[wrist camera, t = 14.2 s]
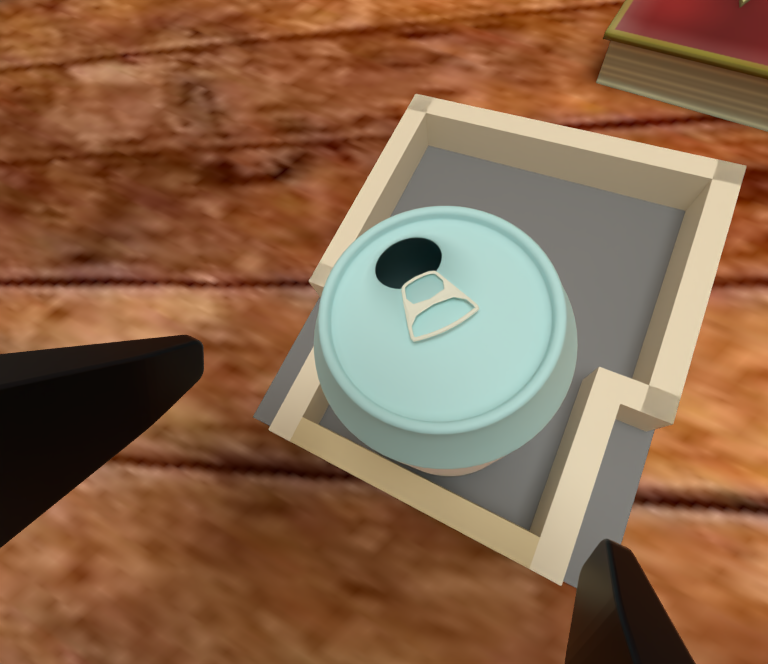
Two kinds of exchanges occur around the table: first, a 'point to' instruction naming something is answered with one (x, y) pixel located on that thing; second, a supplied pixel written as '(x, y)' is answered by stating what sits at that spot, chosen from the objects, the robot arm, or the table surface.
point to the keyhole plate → (589, 304)
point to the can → (445, 339)
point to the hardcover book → (693, 56)
